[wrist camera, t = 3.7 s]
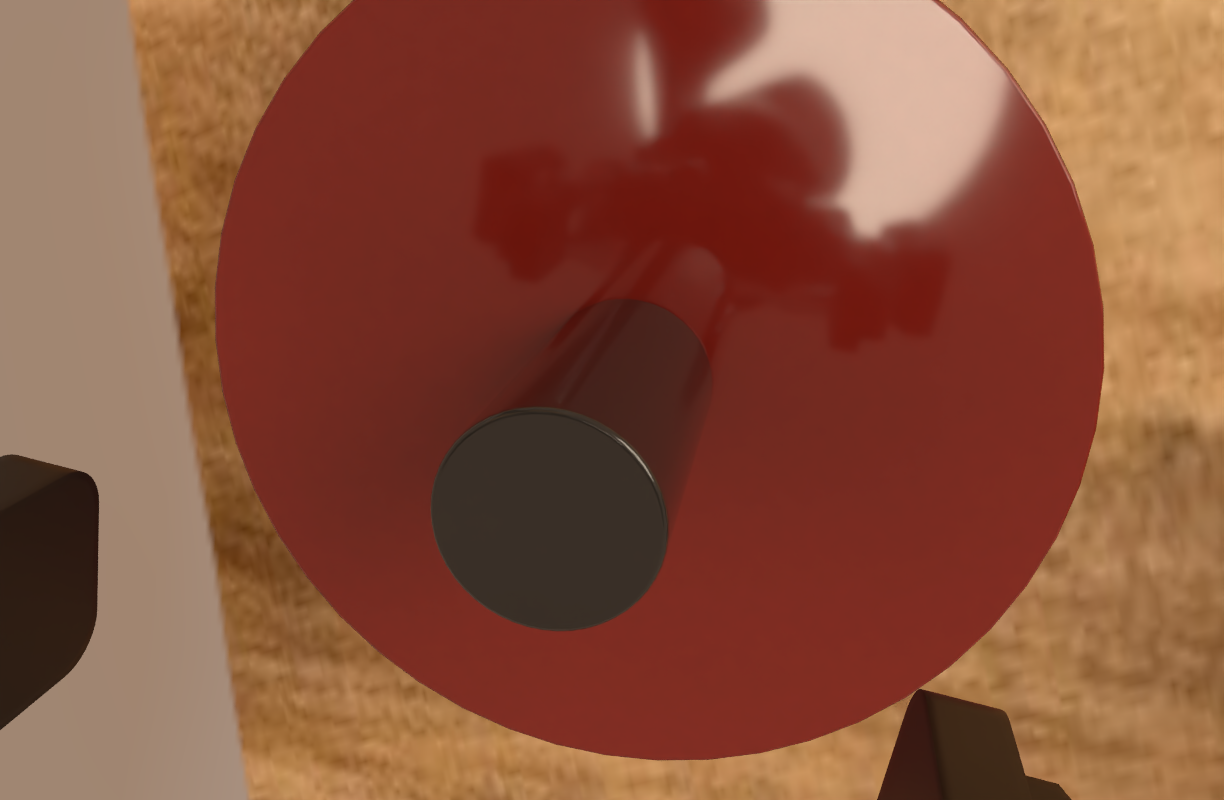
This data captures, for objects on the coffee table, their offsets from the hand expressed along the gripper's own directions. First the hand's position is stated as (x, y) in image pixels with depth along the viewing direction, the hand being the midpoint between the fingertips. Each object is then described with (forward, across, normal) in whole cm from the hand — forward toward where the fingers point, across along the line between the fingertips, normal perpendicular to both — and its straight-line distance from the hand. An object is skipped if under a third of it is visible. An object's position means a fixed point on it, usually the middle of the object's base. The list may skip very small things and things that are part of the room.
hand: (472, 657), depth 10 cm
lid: (+10, 0, 0) cm, 10 cm away
